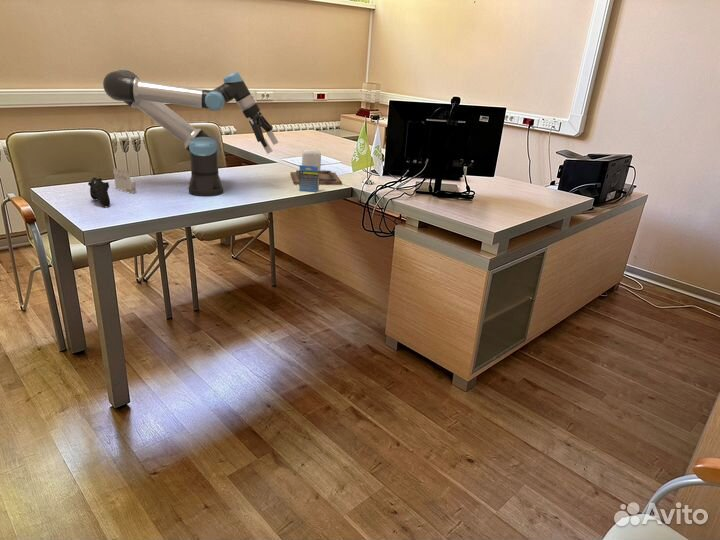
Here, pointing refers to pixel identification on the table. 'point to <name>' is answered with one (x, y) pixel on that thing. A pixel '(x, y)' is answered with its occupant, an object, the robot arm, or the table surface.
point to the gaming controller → (99, 191)
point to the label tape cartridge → (308, 179)
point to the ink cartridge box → (124, 181)
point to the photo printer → (311, 158)
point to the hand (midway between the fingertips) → (273, 148)
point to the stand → (320, 178)
